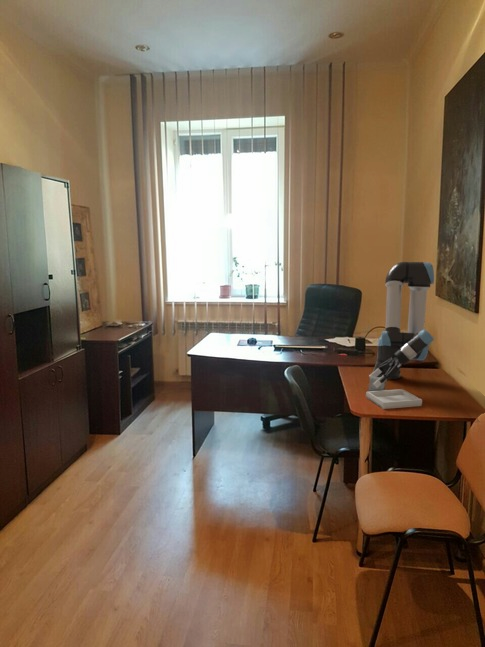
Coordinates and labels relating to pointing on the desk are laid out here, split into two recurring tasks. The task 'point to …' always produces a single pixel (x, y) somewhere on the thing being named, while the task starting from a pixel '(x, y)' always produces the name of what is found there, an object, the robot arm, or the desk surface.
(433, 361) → the desk surface
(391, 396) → the tray
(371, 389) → the ceramic mug
